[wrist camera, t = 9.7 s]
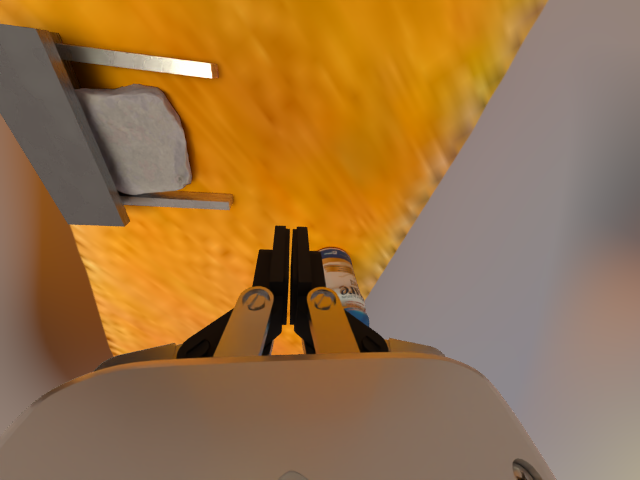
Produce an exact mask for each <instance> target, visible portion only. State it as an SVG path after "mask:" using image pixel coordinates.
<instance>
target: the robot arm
mask: <svg viewBox="0 0 640 480" xmlns="http://www.w3.org/2000/svg"><path fill="white" fill-rule="evenodd" d="M289 240H290V229H286V226H275V234H274V243H273V250H261V249H260V250H259V254H258V259H257V265H256V270H255V275H254V281H253V286H252V287H250V288H248V289H246V290H245V291H243V292H242V293H241V295H240V296H239V298H238V300H237V302H236V305H235V307H234V308H233V309H232V310H230V311H229V312H227V313H226V314H224V315H223V316H221V317H220V318H218V319H217V320H215V321H214V322H213V323H211V324H210V325H208V326H207V327H205V328H204V329H202V330H201V331H199V332H198V333H196V334H195V335H193V336H192V337H190V338H189V339H187V340H186V341H185V342H184V343H183V344H180V345H176V344H175V343H172V344H168V345H163V346H159V347H154V348H150V349H145V350H141V351H136V352H132V353H127V354H122V355H118V356H115V357H112V358H110V359H108V360H106V361H105V362H103V363H102V364H101V365H99V366H98V367H97V368H96V369H95V370H94V372H91V373H88V374H86V375H83V376H80V377H78V378H75V379H73V380H71V381H68V382H66V383H64V384H62V385H60V386H58V387H56V388H54V389H52V390H51V391H49V392H47V393H46V394H44V395H42V396H41V397H40V398H39V399H38V400H36V401H35V402H33V403H32V404H31V405H30V406H29V407H28V408H27V409H26V410H25V411H24V412H22V413H21V414H20V415H19V416H18V417H17V418H16V419H15V421H14V422H12V424H11V425H10V426H9V427H8V428H7V429H6V430H5V431H4V432H3V433H2V434H1V436H0V480H556V478H555V476H554V475H553V473H552V472H551V470H550V468H549V467H548V465H547V463H546V462H545V460H544V458H543V457H542V455H541V454H540V452H539V451H538V449H537V448H536V446H535V445H534V443H533V441H532V440H531V438H530V437H529V435H528V433H527V432H526V430H525V429H524V427H523V426H522V424H521V423H520V421H519V420H518V418H517V417H516V416H515V414H514V412H513V411H512V409H511V408H510V407H509V405H508V404H507V402H506V401H505V400H504V398H503V397H502V396H501V394H500V393H499V392H498V390H497V389H496V388H495V387H494V385H492V383H491V382H490V381H489V380H488V379H487V378H486V377H485V376H484V375H483V374H481V373H480V372H479V371H477V370H476V369H474V368H472V367H470V366H468V365H466V364H464V363H462V362H459V361H456V360H454V359H451V358H448V357H445V355H444V354H442V352H441V351H439V350H438V349H436V348H434V347H431V346H426V345H421V344H416V343H412V342H407V341H401V340H397V339H392V338H389V340H385V339H383V338H382V337H381V336H380V335H379V334H378V333H376V332H375V331H374V330H372V329H371V328H370V327H368V326H367V325H365V324H364V323H363V322H361V321H360V320H358V319H357V318H356V317H354V316H353V315H351V314H350V313H349V312H347V311H346V310H345V309H343V306H342V304H341V301H340V298H339V296H338V295H337V293H336V292H335V291H333V290H332V289H330V288H326V282H325V276H324V269H323V262H322V255H321V252H320V251H309V242H308V230H307V227H297V229H293V237H292V254H291V279H290V325H294V331H295V333H296V334H298V335H299V336H300V337H301V338H302V346H303V351H304V354H298V355H271V352H272V348H273V343H274V339H275V338H276V337H277V336H278V335H279V334H280V333H281V332H282V325H286V322H287V303H288V283H289Z"/></svg>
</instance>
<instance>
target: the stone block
mask: <svg viewBox="0 0 640 480" xmlns="http://www.w3.org/2000/svg"><path fill="white" fill-rule="evenodd" d="M74 91H75V93H76V96H77V98H78V100H79V103H80V105H81V107H82V110H83V112H84V114H85V117H86V119H87V121H88V124H89V126H90V128H91V131H92V133H93V135H94V138H95V140H96V142H97V145H98V147H99V149H100V152H101V154H102V156H103V159H104V161H105V164H106V166H107V168H108V171H109V173H110V175H111V178H112V180H113V182H114V185H115V187H116V189H117V190H119V191H121V192H123V193H125V194H130V195H137V194H143V193H154V192H166V191H176V190H179V189H182V188H184V187H185V186H186V185H187V184H190V183H191V179H192V174H191V168H190V164H189V160H188V153H187V146H186V144H187V143H186V139H185V134H184V130H183V128H182V126H181V121H180V117H179V115H178V114H177V113H176V111H175V110H174V109H173V107H172V105H171V104H170V102H169V101H168V99H167V98H166V96H165V95H164V93H163V92H162V91H161V90H160V89H159V88H157V87H153V86H144V85H141V84H133V85H129V86H125V87H123V86H122V87H120V88H117V89H88V88H83V89H74Z"/></svg>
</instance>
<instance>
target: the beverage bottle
mask: <svg viewBox="0 0 640 480" xmlns="http://www.w3.org/2000/svg"><path fill="white" fill-rule="evenodd" d="M319 251H320V252H321V255H322V262H323V269H324V276H325V282H326V288H330V289H332V290H333V291H335V292H336V293H337V295H338V296H339V298H340V301H341V304H342V306H343V309H345V310H346V311H347V312H349V313H350V314H351V315H353V316H354V317H356V318H357V319H358V320H360V321H361V322H363V323H364V324H365V325H367V326H368V327H369V318H368V316H367V314H366V313H365V310H366V308H365V302H364V299H363V297H362V296H361V294H360V291H359V288H358V285H357V282H356V278H355V275H354V272H353V268H352V263H351V259H350V257H349V256H348V254H347V253H346V252H344V251H343V250H340V249H337V248H325V249H322V250H319Z"/></svg>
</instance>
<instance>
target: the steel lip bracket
mask: <svg viewBox="0 0 640 480" xmlns="http://www.w3.org/2000/svg"><path fill="white" fill-rule="evenodd" d="M70 61H75V62H83V63H92V64H100V65H108V66H116V67H124V68H132V69H140V70H148V71H156V72H165V73H173V74H181V75H189V76H197V77H205V78H219V77H218V69H217V64H212V63H204V62H197V61H189V60H181V59H174V58H166V57H159V56H151V55H144V54H136V53H128V52H121V51H113V50H106V49H98V48H90V47H83V46H75V45H68V44H63V43H62V40H61V38H60V35H59V33H54V32H49V31H46V30H40V29H33V28H26V27H19V26H11V25H4V24H0V114H1V115H2V117H3V118H4V120H5V122H6V123H7V125H8V126H9V128H10V130H11V132H12V133H13V135H14V136H15V138H16V140H17V141H18V143H19V145H20V146H21V148H22V149H23V151H24V153H25V154H26V156H27V158H28V159H29V161H30V163H31V164H32V166H33V167H34V169H35V171H36V172H37V174H38V175H39V177H40V179H41V180H42V182H43V184H44V185H45V187H46V189H47V190H48V192H49V193H50V195H51V197H52V198H53V200H54V202H55V203H56V205H57V207H58V208H59V210H60V211H61V213H62V215H63V216H64V218H65V220H66V221H67V223H68V224H74V225H100V226H126V225H127V224H128V223H129V222H130V220H129V217H128V215H127V213H126V210H125V208H124V206H123V205H140V206H160V207H180V208H200V209H220V210H230V208H231V206H232V204H233V195H232V194H218V193H201V192H184V191H166V192H154V193H143V194H137V195H130V194H125V193H123V192H121V191H119V190H117V189H116V187H115V185H114V182H113V180H112V178H111V175H110V173H109V171H108V168H107V166H106V164H105V161H104V159H103V156H102V154H101V152H100V149H99V147H98V145H97V142H96V140H95V138H94V135H93V133H92V131H91V128H90V126H89V124H88V121H87V119H86V117H85V114H84V112H83V110H82V107H81V105H80V103H79V100H78V98H77V96H76V93H75V91H74V89H81V87H80V84H79V82H78V79H77V77H76V74H75V72H74V70H73V67H72V65H71V62H70Z"/></svg>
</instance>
